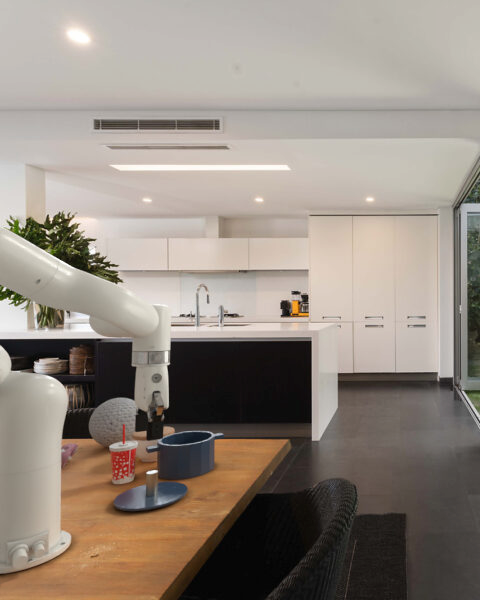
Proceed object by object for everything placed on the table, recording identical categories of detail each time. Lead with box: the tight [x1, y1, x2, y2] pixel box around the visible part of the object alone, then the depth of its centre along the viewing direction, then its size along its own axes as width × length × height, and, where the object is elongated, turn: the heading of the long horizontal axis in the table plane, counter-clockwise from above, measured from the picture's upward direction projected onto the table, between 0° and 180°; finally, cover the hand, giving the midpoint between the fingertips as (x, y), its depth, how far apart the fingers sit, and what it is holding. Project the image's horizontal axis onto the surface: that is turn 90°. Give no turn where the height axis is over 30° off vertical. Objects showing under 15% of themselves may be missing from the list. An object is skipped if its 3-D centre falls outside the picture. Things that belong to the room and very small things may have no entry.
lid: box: [112, 469, 189, 512], centre depth 101 cm, size 15×15×6 cm
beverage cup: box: [108, 424, 138, 485], centre depth 112 cm, size 6×6×14 cm
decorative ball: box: [88, 397, 137, 448], centre depth 140 cm, size 15×15×15 cm
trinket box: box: [132, 426, 176, 463], centre depth 128 cm, size 11×11×9 cm
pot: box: [146, 430, 225, 481], centre depth 119 cm, size 14×19×8 cm
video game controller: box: [61, 442, 79, 469], centre depth 122 cm, size 10×5×7 cm, turn 22°
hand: (148, 435), depth 101 cm, fingers open, 9 cm apart
